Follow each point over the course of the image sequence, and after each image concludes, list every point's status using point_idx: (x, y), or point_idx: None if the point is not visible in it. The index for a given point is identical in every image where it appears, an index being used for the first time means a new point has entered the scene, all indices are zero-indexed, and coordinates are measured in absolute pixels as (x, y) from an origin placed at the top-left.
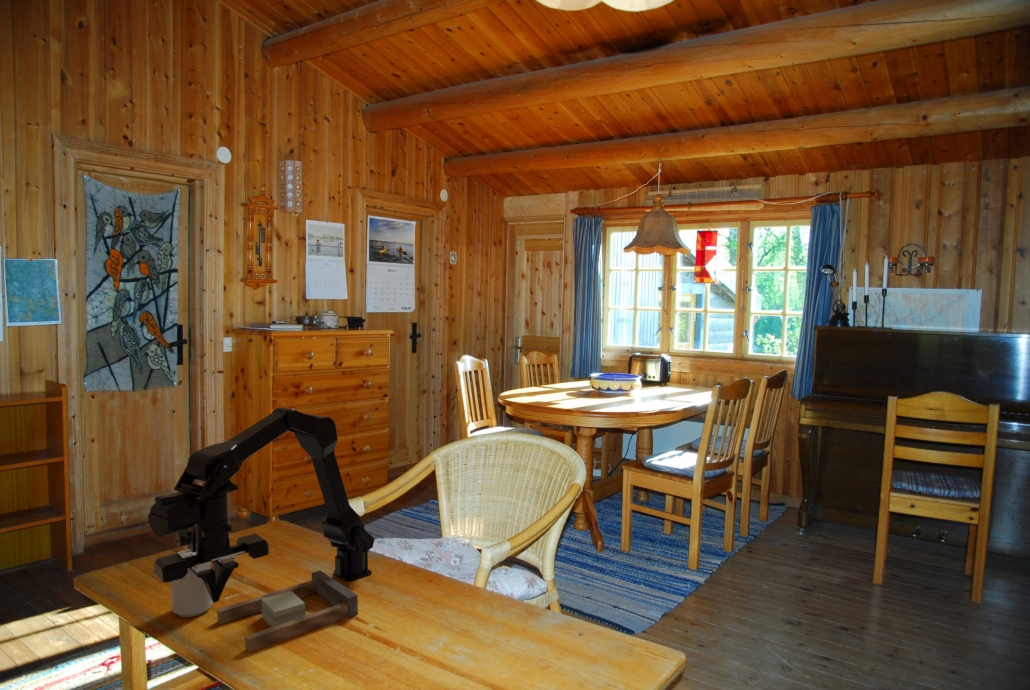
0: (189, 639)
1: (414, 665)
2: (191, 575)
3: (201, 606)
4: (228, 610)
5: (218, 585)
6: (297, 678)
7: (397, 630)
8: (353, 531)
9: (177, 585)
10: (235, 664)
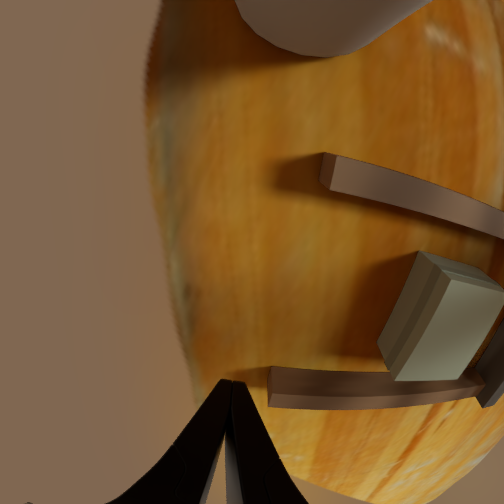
0: (189, 195)
1: (369, 482)
2: None
3: (318, 50)
4: (363, 196)
5: (227, 488)
6: None
7: (439, 436)
8: None
9: None
10: None
